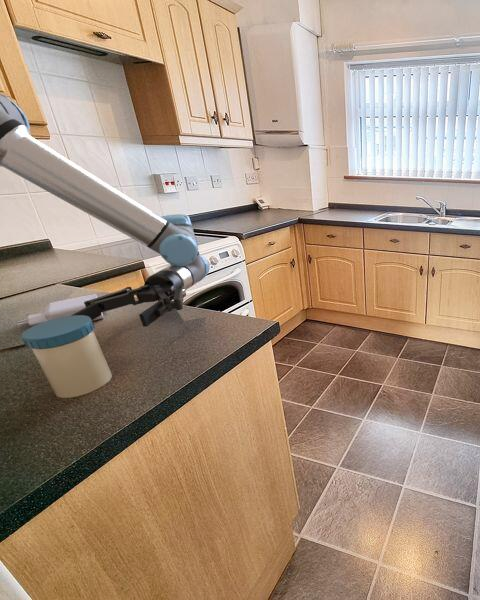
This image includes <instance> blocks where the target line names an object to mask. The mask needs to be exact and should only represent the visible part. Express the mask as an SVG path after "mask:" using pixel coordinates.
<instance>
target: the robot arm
mask: <svg viewBox="0 0 480 600" xmlns="http://www.w3.org/2000/svg"><path fill="white" fill-rule="evenodd" d="M30 126H31V125H30V122H29V119H28V117H27V116H26V114H25V112H24V111H23V110H22V109H21V107H20V106H18V104H17V103H16V102H14V101H13V100H12V99H10V98H9V97H8V96H6V95H5V94H3V93H1V92H0V167H1V168H4V169H6V170H8V171H9V172H11V173H14V174H15V175H17V176H19V177H21V178H22V179H24V180H26V181H28V182H29V183H31V184H33V185H34V186H36V187H39V188H40V189H42V190H44V191H46V192H48V193H49V194H51V195H53V196H55V197H57V198H58V199H60V200H62V201H64V202H66V203H67V204H69V205H71V206H73V207H75V208H76V209H79V210H80V211H83V212H84V213H85V214H86V215H87V214H88V215H89V216H91V217H92V218H95V219H96V220H98V221H100V222H102V223H104V224H106V225H107V226H109V227H110V228H112V229H115V230H116V231H118V232H120V233H122V234H123V235H125V236H127V237H129V238H131V239H132V240H134V241H136V242H137V243H140V244H141V245H143V246H144V247H147V248H149V249H150V250H152V251H154V252H155V253H157V254H158V255H160V257H161V258H162V259H163V260H164V261H165V262H166V263H168V266H166V267H163V268H162V269H160V270H158V271H157V272H154V273H153V274H151V275H149V276H148V277H147V278H146V279H145V281H144V284H143V285H141V286H139V287H137V288H134V289H133V288H132V287H131V286H127V287H123V288H122V289H120V290H117V291H114V292H111V293H108V294H105V295H102V296H97V298H95V299H92V300H89V301H85V302H84V304H85V306H86V308H84V309H82V310H80V311H78V312H77V313H75V314H73V315H71V316H75V315H84V316H88V317H90V318H91V320H93V319H95V318H97V317H100V315H102V313H105V312H109V311H112V310H115V309H119V308H122V307H126V306H130V305H133V306H138V305H139V304H140V305H141V304H144V303H154V302H155V303H154V304H153V305H151V306H149V307H148V308H146V309H145V310H144V311H142V312H141V313H139V314H138V316H139V320H140V322H141V325H142V327H143V328H145V327H146V328H147V327H149V326H150V325H151V324H152V323H154V322H156V320H158V319H159V318H160V317H162V316H164V315H165V314H167V313H168V312H172V311H174V310H176V311H182V310H183V309H184V298H185V297H186V296H187V292H186V291H187V290H189V289H190V288H192V287H194V286H195V285H196V284H197V283H199V282H201V281H202V280H204V278H205V277H206V276H207V275H208V274H209V273H210V269H211V268H210V263H209V261H208V260H207V259H206V258H205V256H203V255H201V254H200V251H199V245H198V242H197V240H196V235H195V232H194V227H193V224H192V222H191V218H190V217H189V215H187V214H180V213H179V214H178V213H177V214H166V215H162V216H160V215H158V214H157V213H155V212H154V211H152V210H151V209H149V208H147V207H146V206H144V205H143V204H141V203H140V202H137V201H136V200H135V199H133V198H131V197H130V196H128V195H126V194H125V193H123V192H122V191H120V190H119V189H117V188H116V187H114V186H112V185H111V184H109V183H108V182H106V181H104V180H103V179H101V178H100V177H98V176H97V175H94V174H93V173H91V172H89V171H88V170H86V169H84V167H82V166H80V165H79V164H77V163H76V162H73V161H72V160H70V159H69V158H67V157H66V156H64V155H62V154H61V153H59V152H58V151H56V150H55V149H53V148H52V147H50V146H49V145H46V143H43V142H41V141H40V140H39V139H37V138H35V137H34V136H33V135H31V127H30ZM135 296H136V298H137V300H136V299H135Z"/></svg>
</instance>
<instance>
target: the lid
mask: <svg viewBox="0 0 480 600" xmlns="http://www.w3.org/2000/svg"><path fill="white" fill-rule="evenodd" d="M95 328H96V327H95V324H94V322H93V321H92V320H91V318H90V317H88V316H84V315H75V316H67V317H61V318H57V319H53V320H49V321H46V322H43V323H40V324H38V325H35V326H33V327H29V328H27V329H26V330H24V331H23V332H22V333H21V338H22V341H23V343H24V345H25V346H26V347H27V348H29V349H31V348H33V349H43V348H51V347H56V346H60V345H64V344H67V343H70V342H73V341H76V340H78V339H81V338H83V337H85V336H87V335H88V334H90V333H91V332H92V331H94V330H95Z"/></svg>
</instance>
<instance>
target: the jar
mask: <svg viewBox="0 0 480 600" xmlns="http://www.w3.org/2000/svg"><path fill="white" fill-rule="evenodd" d="M30 350H31V352H32V353H33V355H34V357H35V359H36V362H37V363H38V364H39V366H40V369H41V370H42V372H43V374H44V376H45V378H46V380H47V382H48V384H49V385H50V387H51V390H52V392H53V393H54V395H55V397H57V398H60V399H72V398H77V397H81V396H84V395H87V394H90V393H92V392H95V391H96V390H98V389H101V388H102V387H104V386H105V385H107V383H109V382H110V381H111V379H112V378H113V373H112V371H111V368H110V366H109V364H108V361H107V359H106V356H105V354H104V352H103V350H102V347H101V345H100V343H99V340H98V338H97V336H96V333H95V331H94V330H93V331H92V332H91V333H90V334H88V335H87V336H85V337H83V338H81V339H78V340H76V341H73V342H70V343H67V344H64V345H60V346H56V347H51V348H43V349H33V348H30Z"/></svg>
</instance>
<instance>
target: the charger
mask: <svg viewBox="0 0 480 600" xmlns="http://www.w3.org/2000/svg"><path fill="white" fill-rule="evenodd" d="M95 298H98V296H97V293H93V294H88V295H83V296H78V297H73V298H68V299H63V300H58V301H54V302H49V303H48V304H47V305H46V306H45V309H44V311H42V312H38V313H33V314H28V316H27V318H25V319H22V320H18V321H17V323H16V326H22V325H26V324H28V325H29V328H31V327H33V326H35V325H38V324H40V323H43V322H46V321H49V320H53V319H57V318H61V317H67V316H71V315H73V314H75V313H77V312H78V311H80V310H82V309H84V308H86V306H85V304H84V302H85V301H89V300H92V299H95ZM102 319H104V312H102V315H100V317H97V318H95V319H93V320H92V322H93V321H99V320H102Z"/></svg>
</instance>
